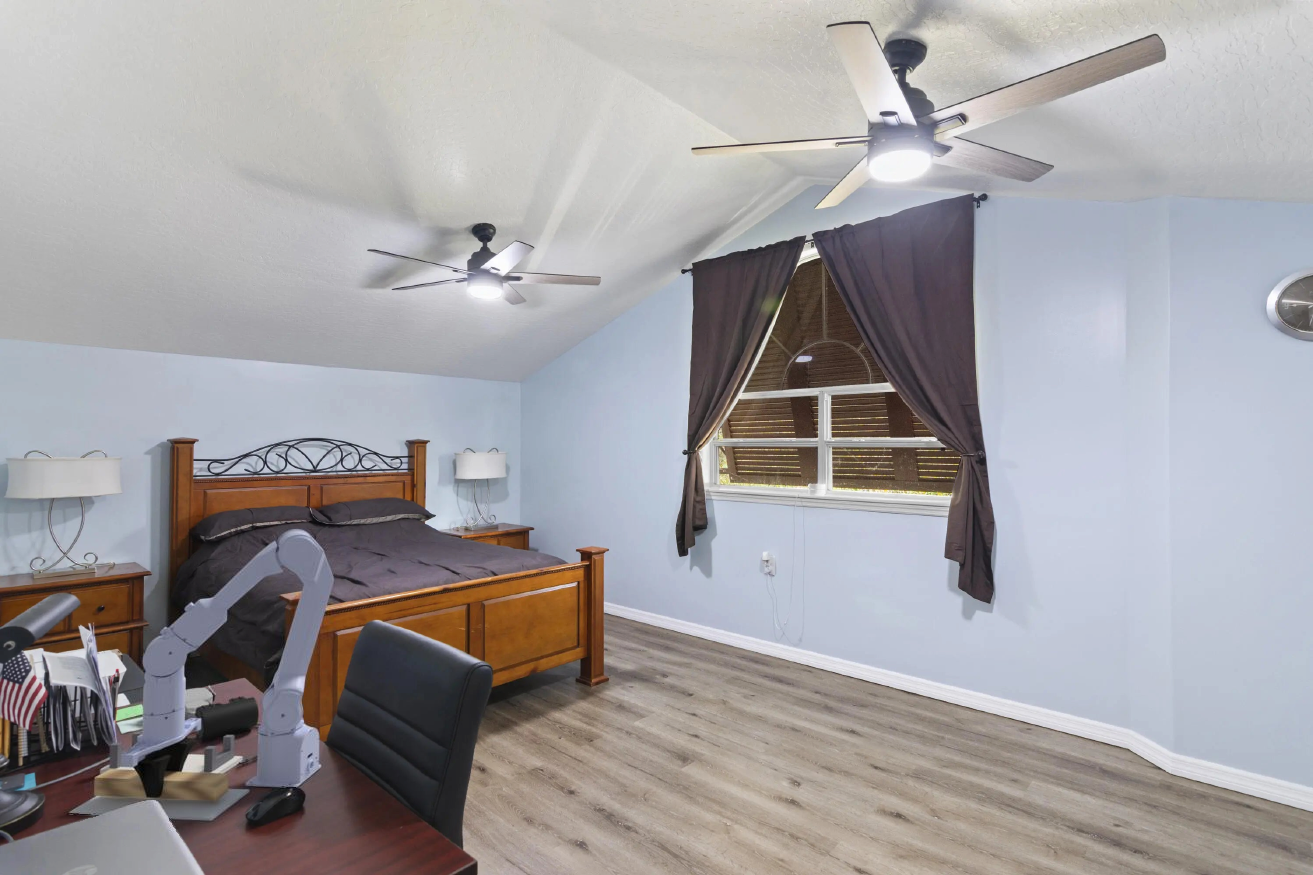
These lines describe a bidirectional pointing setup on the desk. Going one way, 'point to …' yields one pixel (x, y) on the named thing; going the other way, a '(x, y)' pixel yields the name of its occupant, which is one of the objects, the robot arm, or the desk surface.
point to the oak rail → (173, 786)
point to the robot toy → (197, 700)
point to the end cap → (227, 718)
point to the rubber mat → (167, 805)
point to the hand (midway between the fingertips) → (162, 790)
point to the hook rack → (193, 762)
